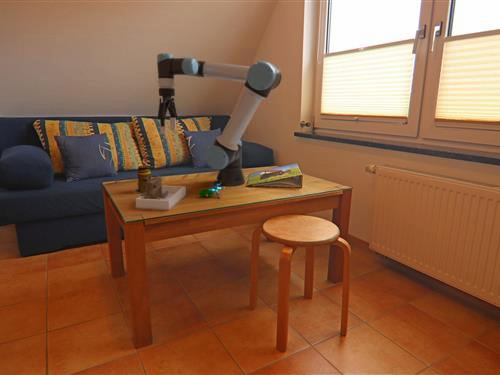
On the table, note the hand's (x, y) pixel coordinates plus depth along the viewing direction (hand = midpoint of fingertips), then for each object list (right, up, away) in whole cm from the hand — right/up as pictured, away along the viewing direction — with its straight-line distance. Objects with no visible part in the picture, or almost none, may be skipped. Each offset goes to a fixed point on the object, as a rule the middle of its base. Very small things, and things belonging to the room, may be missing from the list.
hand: (168, 132), depth 173 cm
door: (-1, -33, -22) cm, 40 cm away
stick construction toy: (+24, -33, -15) cm, 43 cm away
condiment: (-10, -30, -7) cm, 32 cm away
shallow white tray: (+3, -34, -22) cm, 41 cm away
